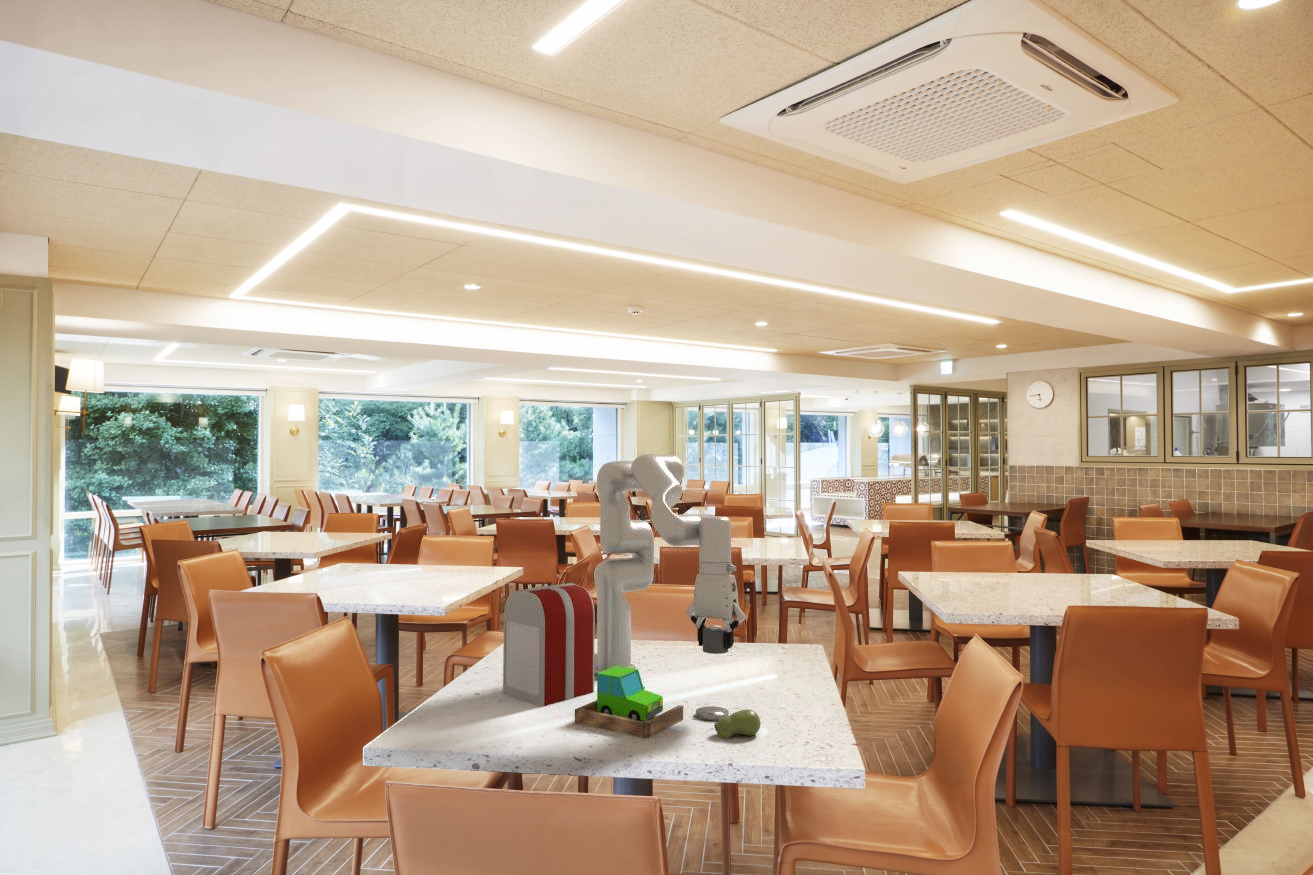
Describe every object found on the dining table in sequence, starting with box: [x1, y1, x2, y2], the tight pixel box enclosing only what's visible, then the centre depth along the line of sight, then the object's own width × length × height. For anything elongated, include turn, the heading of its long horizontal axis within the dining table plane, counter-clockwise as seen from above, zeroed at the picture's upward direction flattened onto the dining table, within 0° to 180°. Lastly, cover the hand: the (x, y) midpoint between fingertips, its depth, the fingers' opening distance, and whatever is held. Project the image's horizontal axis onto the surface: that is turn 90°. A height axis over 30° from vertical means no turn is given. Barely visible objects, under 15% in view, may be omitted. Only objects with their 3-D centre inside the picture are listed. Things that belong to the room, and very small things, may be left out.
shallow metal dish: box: [695, 705, 730, 722], centre depth 178 cm, size 8×8×1 cm
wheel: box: [702, 625, 729, 655], centre depth 180 cm, size 6×6×6 cm
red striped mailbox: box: [502, 582, 596, 708], centre depth 197 cm, size 16×18×27 cm
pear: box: [713, 708, 761, 740], centre depth 165 cm, size 6×5×10 cm
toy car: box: [596, 666, 664, 722], centre depth 178 cm, size 10×13×10 cm
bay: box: [574, 699, 684, 740], centre depth 174 cm, size 19×15×3 cm
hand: (715, 645), depth 180 cm, fingers closed on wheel, 6 cm apart
